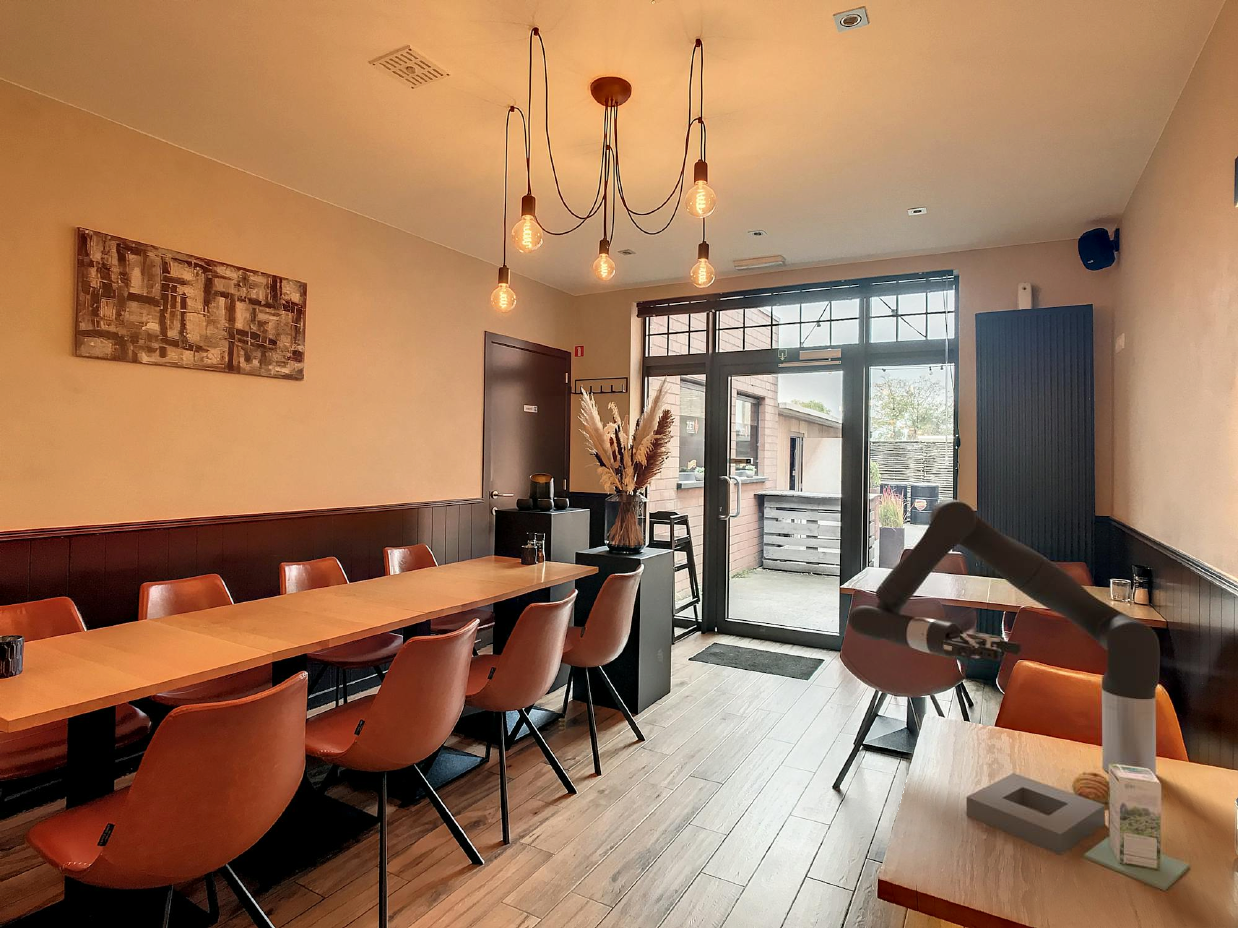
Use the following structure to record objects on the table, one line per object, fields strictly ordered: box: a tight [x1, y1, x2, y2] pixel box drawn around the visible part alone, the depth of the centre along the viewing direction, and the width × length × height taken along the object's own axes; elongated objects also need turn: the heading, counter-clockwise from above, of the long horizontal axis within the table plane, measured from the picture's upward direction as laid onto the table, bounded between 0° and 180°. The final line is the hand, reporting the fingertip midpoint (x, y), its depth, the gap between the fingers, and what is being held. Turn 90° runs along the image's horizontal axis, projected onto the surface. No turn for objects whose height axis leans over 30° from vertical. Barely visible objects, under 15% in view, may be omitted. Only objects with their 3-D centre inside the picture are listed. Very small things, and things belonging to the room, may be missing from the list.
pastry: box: [1072, 771, 1109, 805], centre depth 135 cm, size 9×7×4 cm
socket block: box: [966, 772, 1106, 856], centre depth 126 cm, size 18×16×4 cm
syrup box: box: [1107, 763, 1162, 870], centre depth 112 cm, size 6×6×14 cm
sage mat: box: [1083, 836, 1190, 891], centre depth 112 cm, size 11×11×1 cm
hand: (1010, 652), depth 137 cm, fingers open, 8 cm apart
